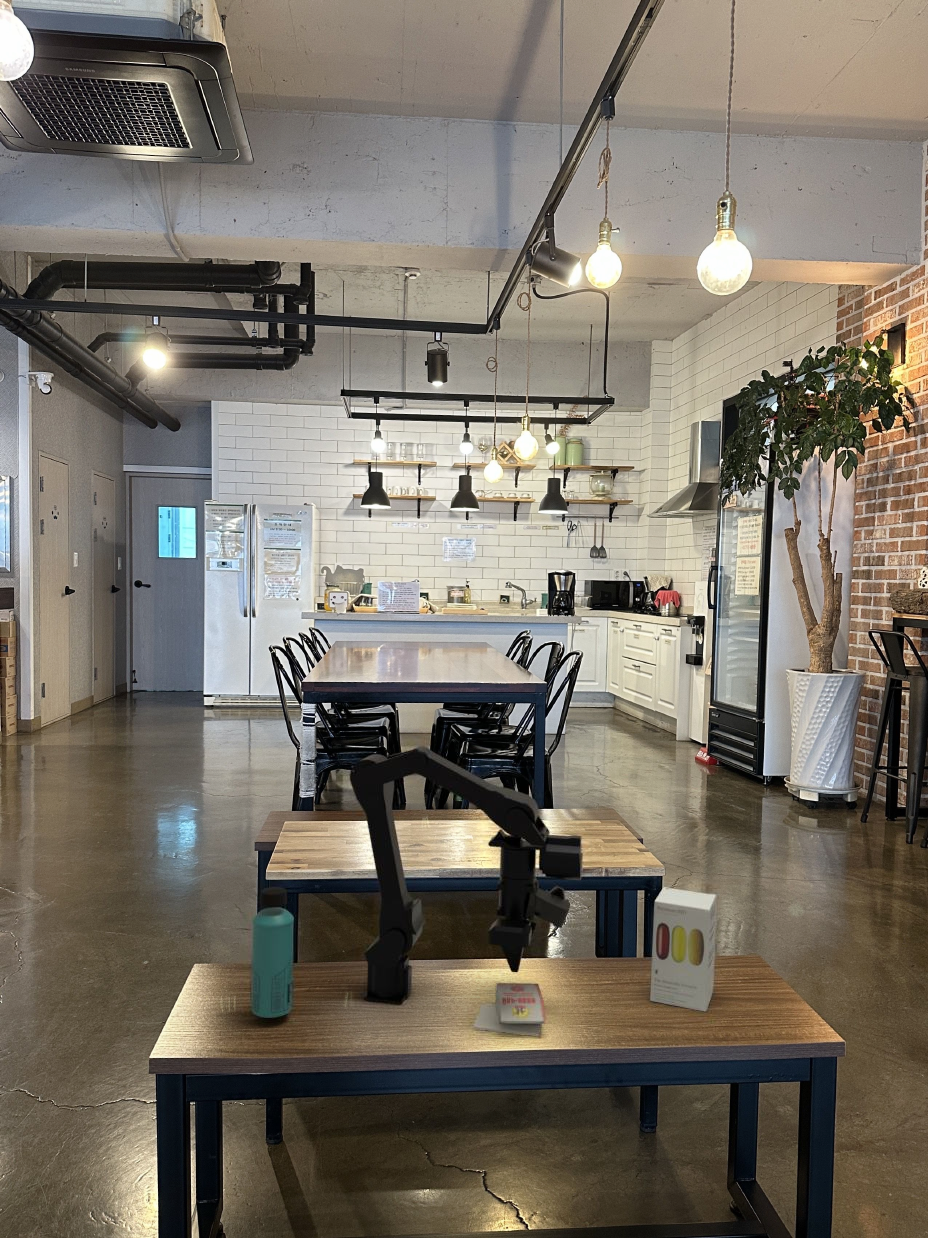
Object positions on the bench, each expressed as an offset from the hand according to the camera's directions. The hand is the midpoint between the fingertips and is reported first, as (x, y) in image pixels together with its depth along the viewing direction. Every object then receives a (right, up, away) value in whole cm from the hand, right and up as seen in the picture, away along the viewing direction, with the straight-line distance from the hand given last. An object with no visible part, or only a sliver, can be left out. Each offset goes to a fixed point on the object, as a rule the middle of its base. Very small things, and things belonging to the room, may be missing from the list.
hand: (514, 971), depth 147 cm
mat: (-1, -6, -4) cm, 8 cm away
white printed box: (0, -4, 0) cm, 4 cm away
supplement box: (+29, -7, +7) cm, 30 cm away
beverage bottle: (-38, -5, -6) cm, 39 cm away
